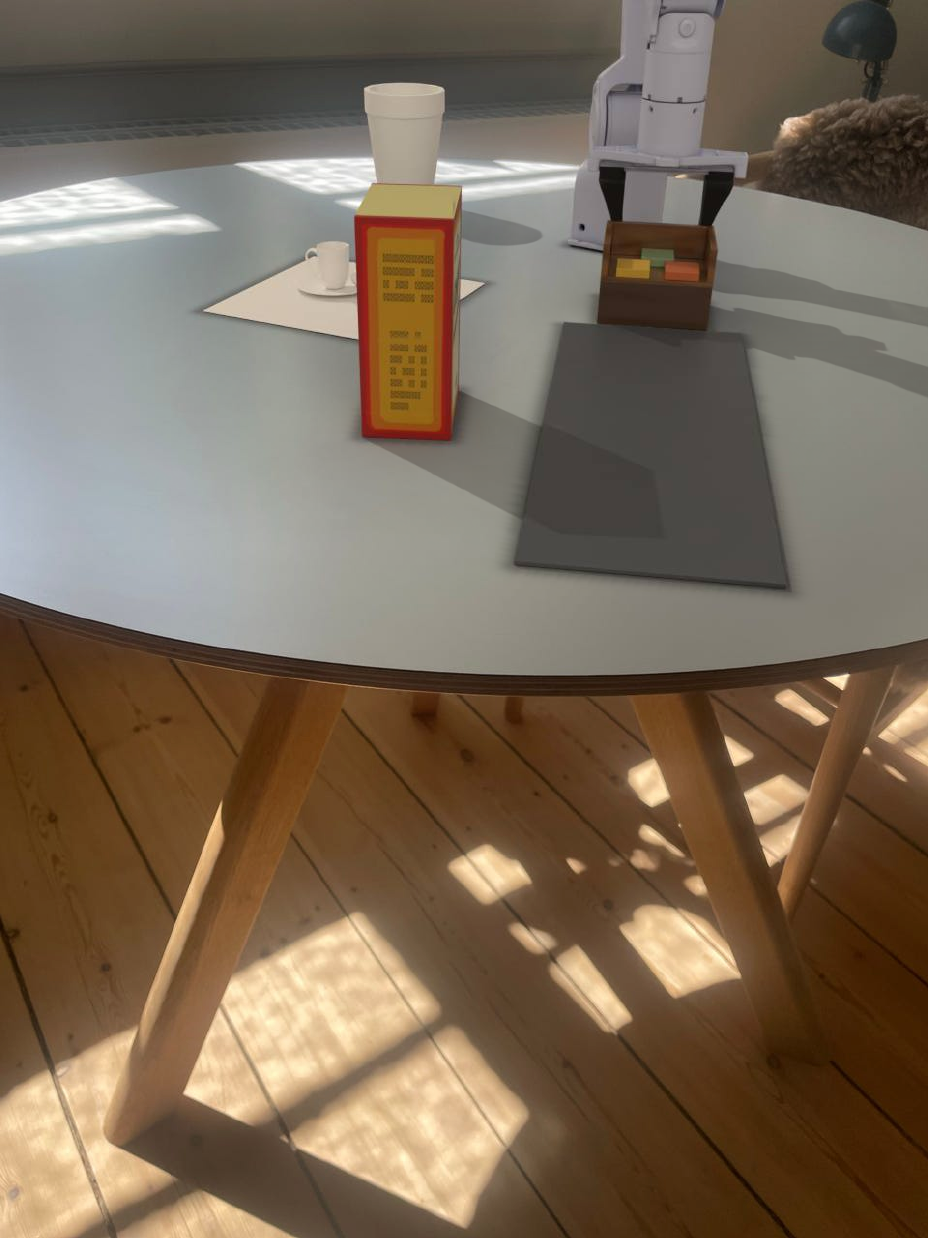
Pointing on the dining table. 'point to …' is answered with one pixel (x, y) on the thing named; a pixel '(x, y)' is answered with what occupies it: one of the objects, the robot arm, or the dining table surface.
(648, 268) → the packet
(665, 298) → the brown wooden box panel
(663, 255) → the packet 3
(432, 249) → the baking soda box
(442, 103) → the foam cup
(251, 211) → the dining table surface
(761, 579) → the mat
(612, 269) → the tray
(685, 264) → the packet
